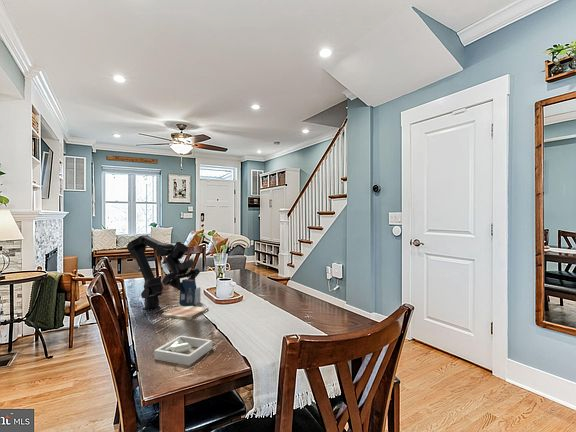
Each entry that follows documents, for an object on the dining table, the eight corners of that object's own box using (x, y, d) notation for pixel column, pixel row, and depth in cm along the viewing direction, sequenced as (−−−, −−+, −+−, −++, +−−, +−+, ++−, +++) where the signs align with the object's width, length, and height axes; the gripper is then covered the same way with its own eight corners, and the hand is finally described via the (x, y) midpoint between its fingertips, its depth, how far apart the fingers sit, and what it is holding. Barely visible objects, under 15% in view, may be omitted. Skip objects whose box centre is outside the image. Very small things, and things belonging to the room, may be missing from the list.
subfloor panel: (161, 316, 154) (161, 313, 154) (182, 307, 169) (182, 304, 169) (189, 319, 149) (189, 317, 149) (208, 310, 164) (208, 307, 164)
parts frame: (154, 359, 109) (154, 350, 108) (180, 343, 122) (180, 335, 122) (189, 365, 104) (189, 356, 104) (212, 348, 117) (212, 340, 117)
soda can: (185, 303, 156) (187, 278, 157) (197, 304, 153) (198, 279, 154) (175, 305, 149) (177, 279, 150) (187, 307, 147) (189, 281, 148)
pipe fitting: (192, 351, 117) (174, 348, 117) (192, 340, 116) (175, 338, 117) (182, 361, 109) (163, 358, 109) (183, 349, 109) (164, 347, 109)
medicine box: (200, 302, 179) (200, 287, 178) (196, 304, 174) (196, 288, 174) (188, 301, 181) (188, 286, 181) (183, 303, 176) (184, 287, 176)
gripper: (167, 256, 146) (182, 284, 140) (197, 252, 162) (213, 276, 156) (155, 271, 150) (170, 298, 145) (186, 266, 166) (201, 290, 161)
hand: (190, 290), depth 151 cm, fingers closed on soda can, 7 cm apart
